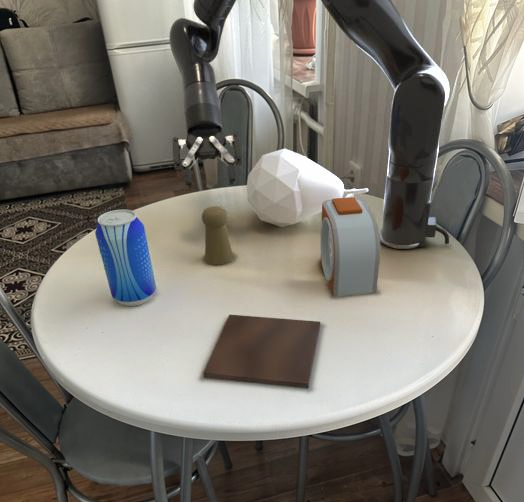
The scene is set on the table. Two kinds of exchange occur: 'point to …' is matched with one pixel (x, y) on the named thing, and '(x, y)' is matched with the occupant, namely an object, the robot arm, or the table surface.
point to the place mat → (265, 351)
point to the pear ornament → (291, 188)
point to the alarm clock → (349, 246)
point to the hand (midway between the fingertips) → (211, 184)
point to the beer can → (125, 257)
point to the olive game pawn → (216, 236)
